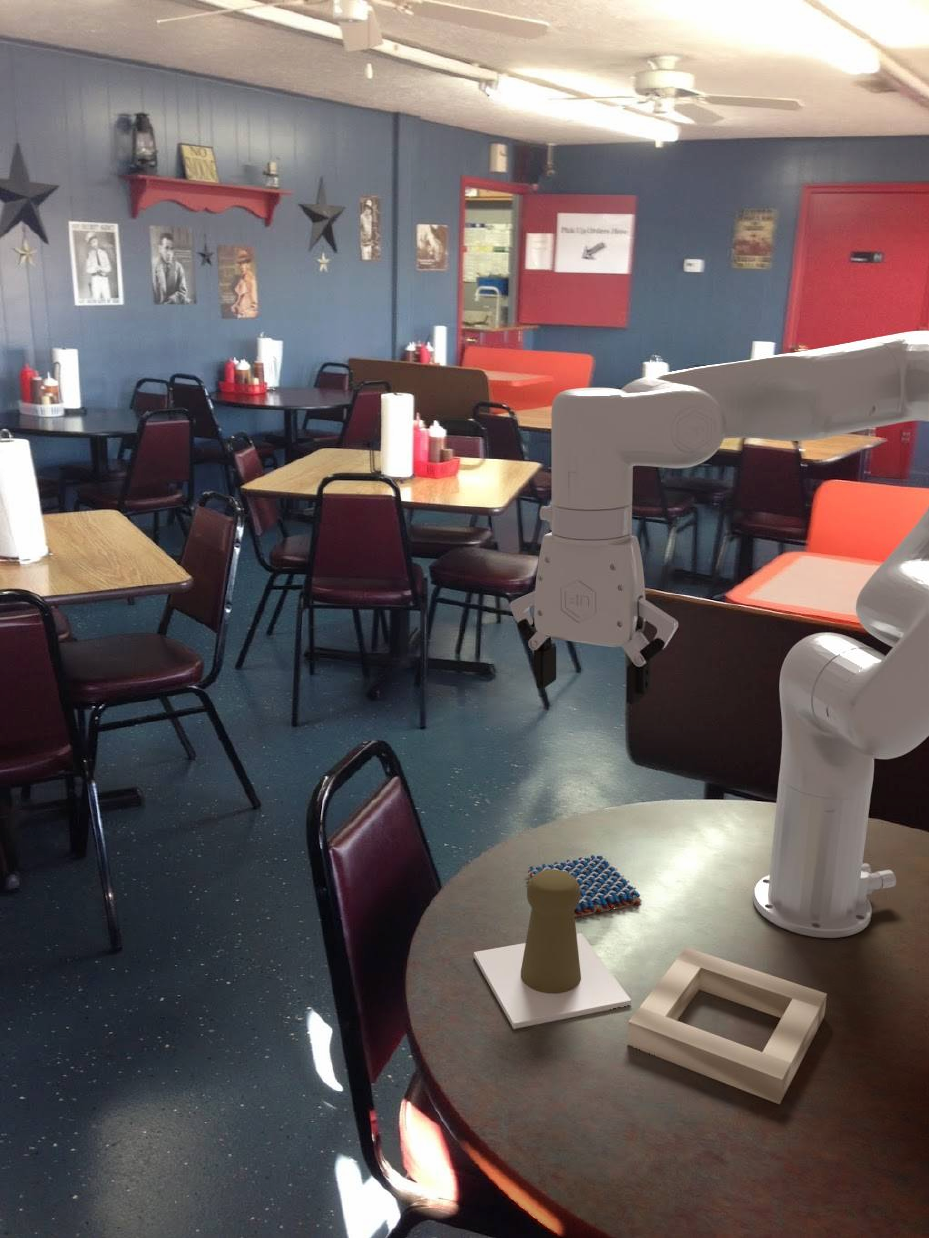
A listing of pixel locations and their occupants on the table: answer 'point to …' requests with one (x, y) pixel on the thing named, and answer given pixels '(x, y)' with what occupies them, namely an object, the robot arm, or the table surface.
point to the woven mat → (596, 884)
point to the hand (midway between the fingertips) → (590, 692)
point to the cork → (552, 933)
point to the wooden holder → (717, 1055)
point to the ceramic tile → (539, 1007)
